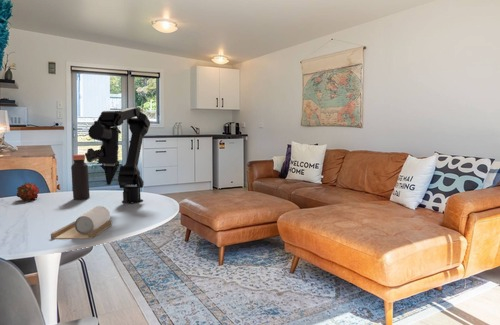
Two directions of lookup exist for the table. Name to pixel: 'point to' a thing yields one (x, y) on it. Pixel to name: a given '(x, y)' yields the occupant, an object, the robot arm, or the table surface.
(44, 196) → the table surface
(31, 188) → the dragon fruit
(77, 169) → the bottle
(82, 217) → the can
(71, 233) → the wooden tray
